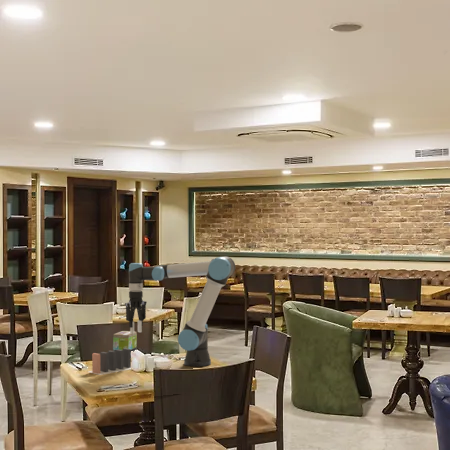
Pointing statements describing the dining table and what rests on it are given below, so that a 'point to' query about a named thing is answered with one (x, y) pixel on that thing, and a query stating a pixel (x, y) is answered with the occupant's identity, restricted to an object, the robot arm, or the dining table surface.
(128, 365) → the domino
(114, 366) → the domino
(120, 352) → the domino
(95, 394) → the dining table surface
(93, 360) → the domino
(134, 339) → the tea box
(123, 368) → the domino mat
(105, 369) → the domino
